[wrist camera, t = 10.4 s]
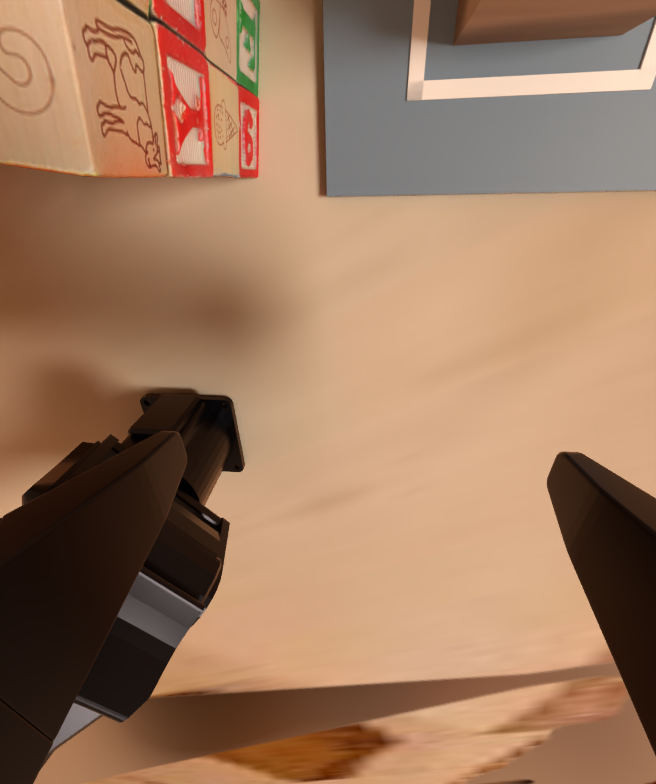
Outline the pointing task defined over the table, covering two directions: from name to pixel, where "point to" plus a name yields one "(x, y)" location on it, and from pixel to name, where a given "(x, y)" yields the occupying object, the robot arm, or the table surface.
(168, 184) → the table surface
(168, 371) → the table surface
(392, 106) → the board
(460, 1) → the walnut base block
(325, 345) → the table surface
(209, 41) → the stack of blocks
